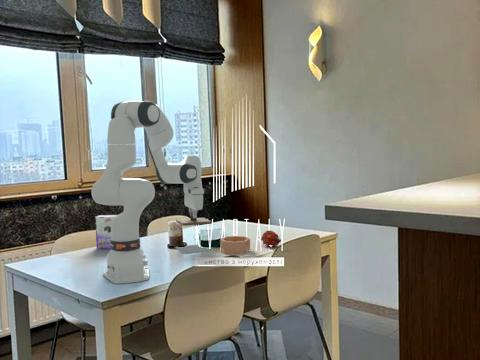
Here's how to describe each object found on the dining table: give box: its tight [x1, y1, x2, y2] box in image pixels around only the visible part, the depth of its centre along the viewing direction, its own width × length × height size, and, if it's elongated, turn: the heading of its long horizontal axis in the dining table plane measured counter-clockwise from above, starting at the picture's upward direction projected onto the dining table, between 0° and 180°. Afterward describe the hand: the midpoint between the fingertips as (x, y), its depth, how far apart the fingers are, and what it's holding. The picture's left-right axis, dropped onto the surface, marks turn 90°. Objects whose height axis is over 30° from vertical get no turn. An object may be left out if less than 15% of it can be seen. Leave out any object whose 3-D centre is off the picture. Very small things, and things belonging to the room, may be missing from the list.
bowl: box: [219, 235, 251, 255], centre depth 236 cm, size 14×14×6 cm
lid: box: [175, 212, 212, 227], centre depth 239 cm, size 14×14×5 cm
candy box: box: [94, 214, 118, 250], centre depth 247 cm, size 14×6×16 cm, turn 84°
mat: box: [174, 244, 215, 255], centre depth 241 cm, size 16×16×1 cm
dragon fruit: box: [260, 230, 282, 246], centre depth 245 cm, size 8×8×12 cm
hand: (193, 217), depth 239 cm, fingers closed on lid, 3 cm apart
